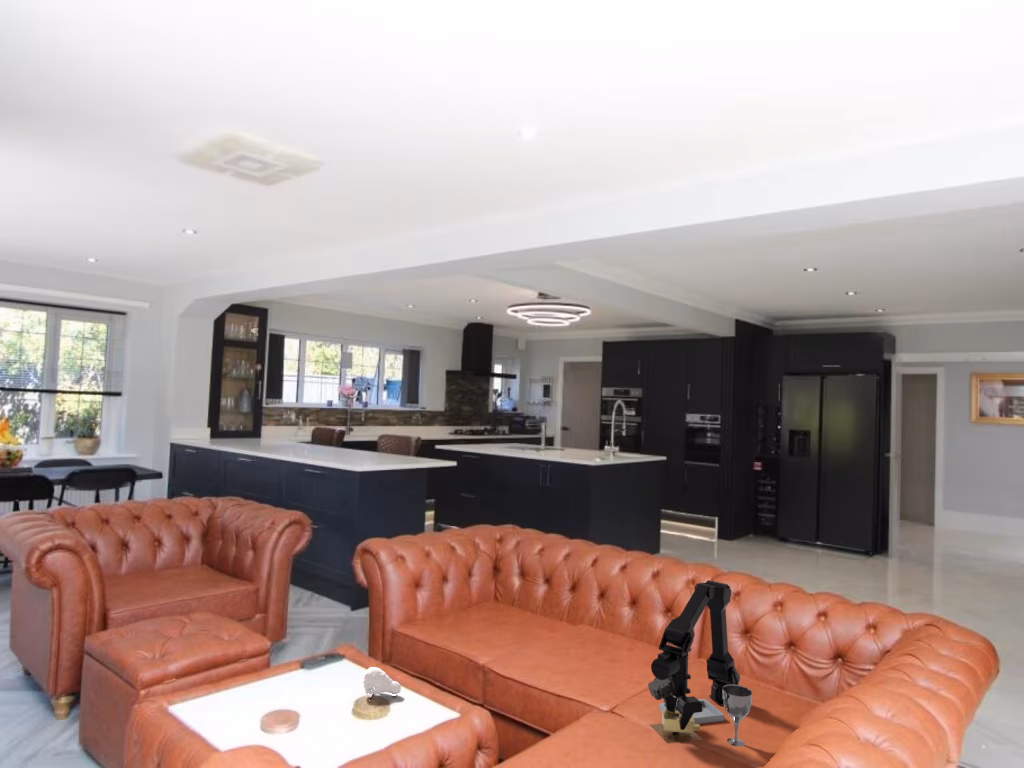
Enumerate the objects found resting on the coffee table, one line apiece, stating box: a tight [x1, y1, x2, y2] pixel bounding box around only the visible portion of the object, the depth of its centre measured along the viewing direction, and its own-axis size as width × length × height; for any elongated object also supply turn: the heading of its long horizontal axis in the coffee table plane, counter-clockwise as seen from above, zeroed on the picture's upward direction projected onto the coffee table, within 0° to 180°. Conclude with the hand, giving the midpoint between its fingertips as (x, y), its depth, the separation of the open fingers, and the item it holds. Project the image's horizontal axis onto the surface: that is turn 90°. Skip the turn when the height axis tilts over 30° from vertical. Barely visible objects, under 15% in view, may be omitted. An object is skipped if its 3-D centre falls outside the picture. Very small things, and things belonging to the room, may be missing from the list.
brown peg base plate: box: [649, 716, 703, 745], centre depth 200 cm, size 11×11×5 cm
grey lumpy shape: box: [362, 666, 402, 695], centre depth 219 cm, size 6×8×12 cm
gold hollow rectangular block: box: [661, 710, 701, 733], centre depth 199 cm, size 10×6×3 cm, turn 84°
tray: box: [658, 698, 725, 725], centre depth 211 cm, size 16×11×2 cm
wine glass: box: [722, 684, 753, 748], centre depth 195 cm, size 8×8×15 cm
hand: (676, 723), depth 200 cm, fingers closed on gold hollow rectangular block, 7 cm apart
